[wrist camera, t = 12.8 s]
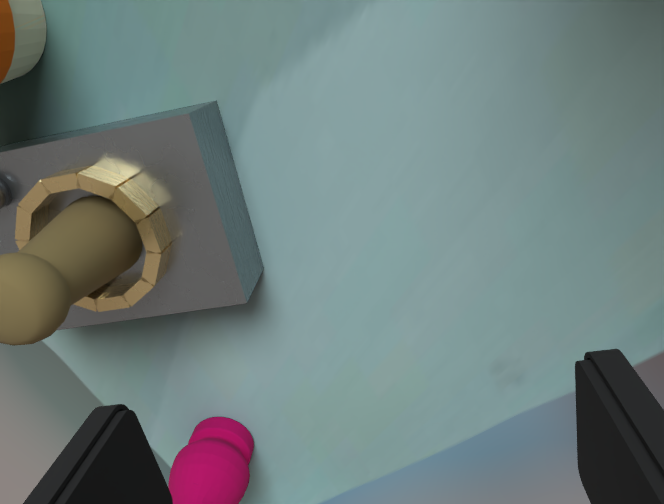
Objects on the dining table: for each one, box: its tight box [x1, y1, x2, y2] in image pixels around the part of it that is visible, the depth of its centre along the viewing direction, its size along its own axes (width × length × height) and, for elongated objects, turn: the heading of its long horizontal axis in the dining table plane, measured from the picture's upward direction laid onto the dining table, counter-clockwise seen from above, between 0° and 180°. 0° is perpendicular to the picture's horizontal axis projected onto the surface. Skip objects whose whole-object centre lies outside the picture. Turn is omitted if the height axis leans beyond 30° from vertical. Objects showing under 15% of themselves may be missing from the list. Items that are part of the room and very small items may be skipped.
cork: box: [0, 196, 142, 345], centre depth 32 cm, size 6×6×11 cm
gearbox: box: [0, 101, 264, 330], centre depth 39 cm, size 14×18×8 cm
